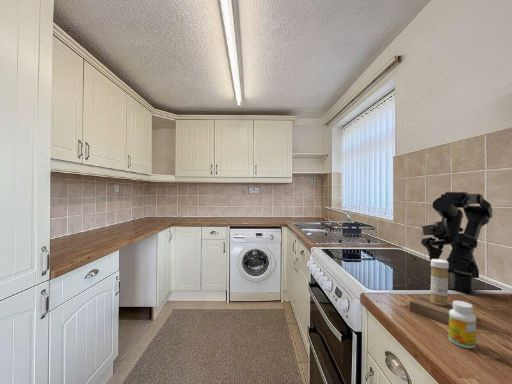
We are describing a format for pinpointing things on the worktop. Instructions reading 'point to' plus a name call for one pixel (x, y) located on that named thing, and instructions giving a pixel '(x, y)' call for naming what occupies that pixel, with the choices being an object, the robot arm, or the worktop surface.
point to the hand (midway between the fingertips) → (442, 265)
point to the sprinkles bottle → (439, 282)
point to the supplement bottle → (462, 325)
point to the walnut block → (431, 309)
